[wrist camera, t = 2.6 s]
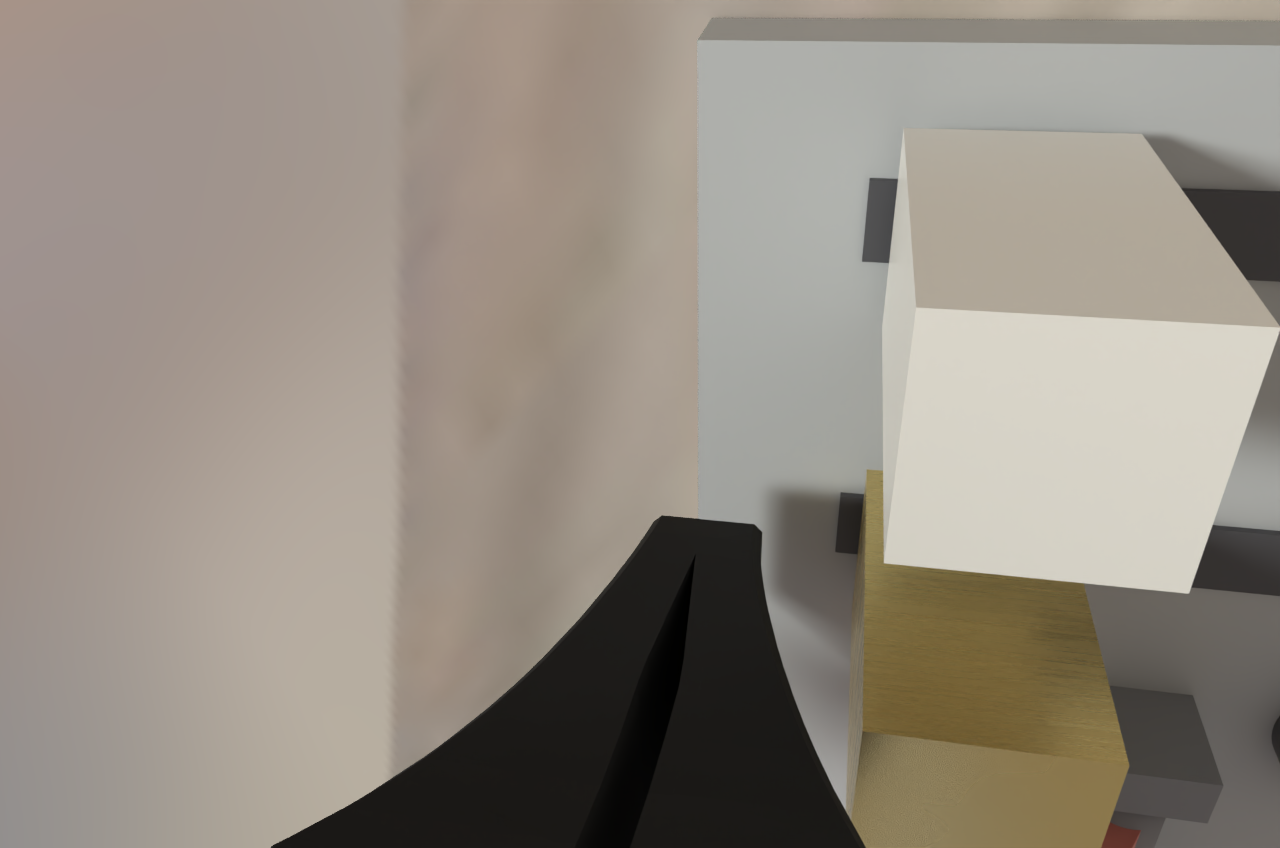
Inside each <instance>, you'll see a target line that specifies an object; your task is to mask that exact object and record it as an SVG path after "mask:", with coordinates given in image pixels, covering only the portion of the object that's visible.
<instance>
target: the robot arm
mask: <svg viewBox="0 0 1280 848" xmlns="http://www.w3.org/2000/svg"><path fill="white" fill-rule="evenodd" d="M761 555H762V531H761V530H760V529H759V528H758V527H757V526H756V525H755V524H748V523H737V522H726V521H715V520H705V519H694V518H683V517H672V516H661V517H659V518H658V519H657V520H655V521H654V522H653V524H652V525H651V527H650V528H649V530H648V531H647V533H646V534H645V536H644V537H643V539H642V540H641V542H640V543H639V545H638V546H637V547H636V549H635V550H634V552H633V553H632V554H631V556H630V557H629V559H628V560H627V561H626V563H625V564H624V565H623V566H622V568H621V569H620V570H619V572H618V573H617V574H616V576H615V577H614V578H613V579H612V581H611V582H610V583H609V584H608V586H607V587H606V588H605V589H604V590H603V592H602V593H601V594H600V595H599V596H598V598H597V599H596V600H595V601H594V602H593V604H592V605H591V606H590V607H589V608H588V610H587V611H586V612H585V613H584V614H583V615H582V617H581V618H580V619H579V620H578V621H577V622H576V623H575V624H574V625H573V626H572V628H571V629H570V630H569V631H568V632H567V633H566V634H565V635H564V636H563V637H562V638H561V639H560V640H559V641H558V642H557V643H556V644H555V645H554V647H553V648H552V649H551V650H550V651H549V652H548V653H547V654H546V655H545V656H544V657H543V658H542V659H541V660H540V661H539V662H538V663H537V664H536V665H535V666H534V667H533V668H532V669H531V670H530V671H529V672H528V673H527V674H526V675H525V676H524V677H522V678H521V679H520V680H519V681H518V682H517V683H516V684H515V685H514V686H513V687H512V688H510V689H509V690H508V691H507V692H506V693H505V694H504V695H502V696H501V697H500V698H499V699H498V700H497V701H496V702H495V703H493V704H492V705H491V706H490V707H489V708H487V709H486V710H485V711H484V712H483V713H481V714H480V715H479V716H477V717H476V718H475V719H474V720H472V721H471V722H470V723H469V724H467V725H466V726H465V727H464V728H462V729H461V730H460V731H459V732H457V733H456V734H455V735H454V736H452V737H451V738H450V739H448V740H447V741H446V742H444V743H443V744H442V745H440V746H439V747H438V748H436V749H435V750H433V751H432V752H431V753H429V754H428V755H426V756H425V757H424V758H422V759H421V760H419V761H417V762H416V763H414V764H413V765H411V766H410V767H408V768H407V769H405V770H404V771H402V772H401V773H399V774H398V775H396V776H395V777H393V778H392V779H390V780H389V781H387V782H385V783H384V784H382V785H381V786H379V787H378V788H376V789H375V790H373V791H372V792H371V793H369V794H367V795H365V796H364V797H362V798H360V799H359V800H357V801H355V802H354V803H352V804H350V805H349V806H347V807H345V808H343V809H341V810H339V811H337V812H336V813H334V814H332V815H330V816H328V817H326V818H324V819H322V820H321V821H319V822H317V823H315V824H313V825H311V826H309V827H308V828H306V829H304V830H302V831H300V832H298V833H296V834H295V835H293V836H291V837H289V838H287V839H285V840H283V841H281V842H279V843H277V844H275V845H273V846H271V848H866V847H865V845H864V843H863V841H862V839H861V838H860V836H859V834H858V832H857V830H856V829H855V827H854V825H853V823H852V821H851V819H850V818H849V816H848V814H847V812H846V810H845V809H844V807H843V805H842V803H841V801H840V799H839V798H838V796H837V794H836V792H835V790H834V788H833V786H832V784H831V782H830V780H829V778H828V776H827V774H826V772H825V769H824V767H823V765H822V763H821V761H820V759H819V757H818V755H817V752H816V750H815V748H814V746H813V743H812V741H811V739H810V736H809V734H808V732H807V729H806V727H805V724H804V722H803V719H802V717H801V714H800V712H799V709H798V707H797V704H796V701H795V699H794V696H793V693H792V690H791V687H790V684H789V681H788V678H787V675H786V672H785V669H784V666H783V663H782V660H781V657H780V653H779V650H778V647H777V643H776V639H775V635H774V631H773V627H772V623H771V619H770V615H769V611H768V606H767V601H766V596H765V590H764V584H763V577H762V568H761Z"/></svg>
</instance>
